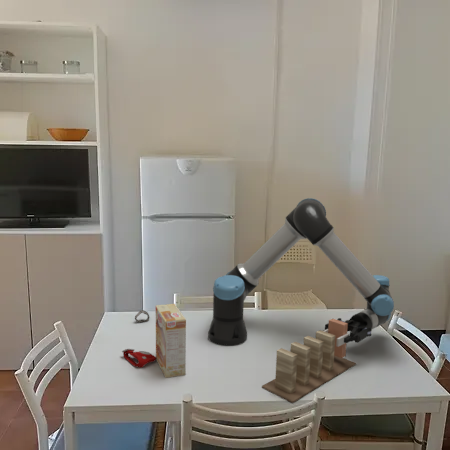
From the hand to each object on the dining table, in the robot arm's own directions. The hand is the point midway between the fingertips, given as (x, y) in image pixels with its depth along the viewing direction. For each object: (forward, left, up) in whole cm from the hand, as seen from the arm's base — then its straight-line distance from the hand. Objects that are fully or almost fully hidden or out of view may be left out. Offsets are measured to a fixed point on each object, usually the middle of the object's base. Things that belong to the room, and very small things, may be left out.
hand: (329, 339), depth 159 cm
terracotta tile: (+3, +4, -7) cm, 9 cm away
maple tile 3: (-8, -14, -9) cm, 18 cm away
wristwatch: (-77, +16, -10) cm, 79 cm away
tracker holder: (-63, -15, -11) cm, 66 cm away
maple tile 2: (-5, -8, -9) cm, 13 cm away
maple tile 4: (-12, -20, -9) cm, 25 cm away
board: (-5, -8, -10) cm, 13 cm away
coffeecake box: (-51, -16, -10) cm, 55 cm away
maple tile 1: (-1, -2, -9) cm, 10 cm away
